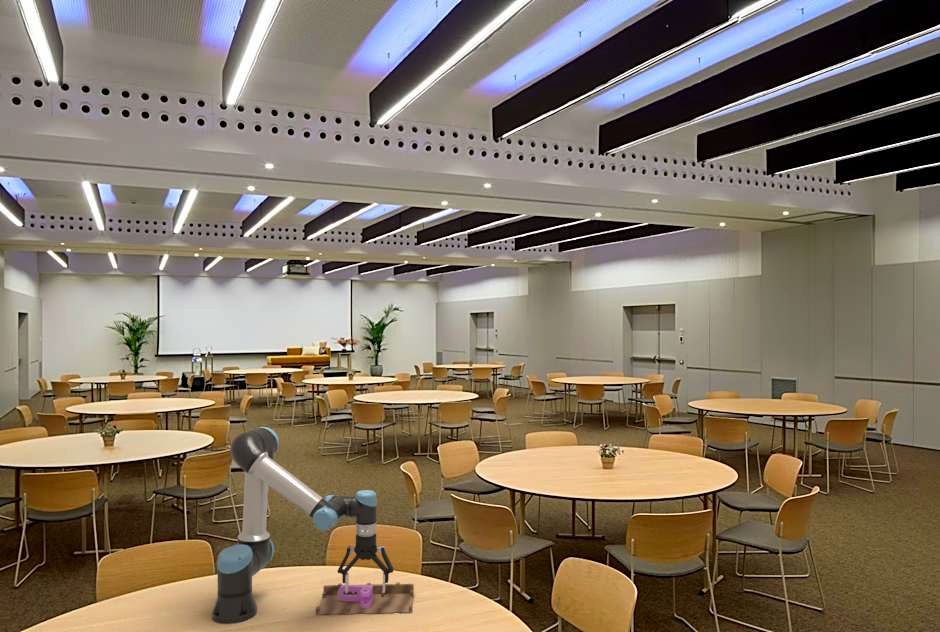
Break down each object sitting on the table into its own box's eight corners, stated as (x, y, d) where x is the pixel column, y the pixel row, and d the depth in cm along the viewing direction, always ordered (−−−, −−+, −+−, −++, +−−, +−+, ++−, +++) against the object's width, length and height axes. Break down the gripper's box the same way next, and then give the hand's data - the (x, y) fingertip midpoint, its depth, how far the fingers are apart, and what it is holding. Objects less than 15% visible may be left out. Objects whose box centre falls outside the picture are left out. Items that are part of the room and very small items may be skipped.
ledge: (315, 617, 233) (315, 603, 233) (324, 596, 250) (324, 583, 250) (411, 615, 234) (411, 601, 234) (413, 595, 251) (413, 582, 251)
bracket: (373, 585, 244) (369, 593, 237) (373, 600, 244) (369, 608, 237) (338, 584, 244) (333, 592, 237) (338, 599, 244) (333, 608, 237)
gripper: (330, 537, 237) (329, 596, 237) (399, 537, 238) (398, 595, 238) (333, 530, 244) (332, 587, 244) (400, 530, 245) (400, 587, 245)
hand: (365, 591), depth 241 cm, fingers open, 13 cm apart
